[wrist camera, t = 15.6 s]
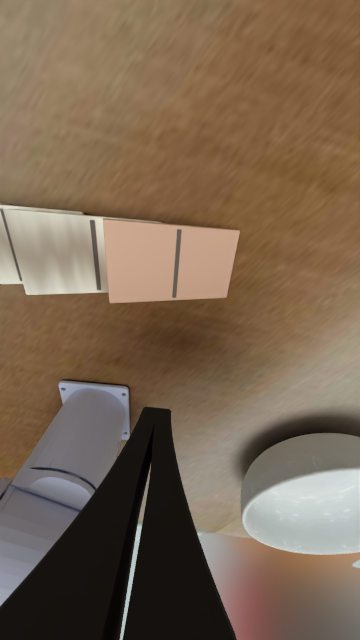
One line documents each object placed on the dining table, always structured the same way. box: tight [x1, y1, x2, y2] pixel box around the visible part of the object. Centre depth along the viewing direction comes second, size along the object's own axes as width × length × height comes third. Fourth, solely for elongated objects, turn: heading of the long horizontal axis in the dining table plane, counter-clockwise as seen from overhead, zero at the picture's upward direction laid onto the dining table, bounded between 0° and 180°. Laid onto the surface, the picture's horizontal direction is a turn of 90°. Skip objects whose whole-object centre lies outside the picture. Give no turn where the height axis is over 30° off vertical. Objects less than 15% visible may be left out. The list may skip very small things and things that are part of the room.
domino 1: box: [0, 205, 84, 284], centre depth 14 cm, size 5×2×9 cm
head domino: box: [103, 218, 240, 303], centre depth 15 cm, size 5×2×9 cm
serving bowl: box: [241, 433, 360, 554], centre depth 26 cm, size 21×21×7 cm
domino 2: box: [3, 209, 162, 295], centre depth 15 cm, size 5×2×9 cm
